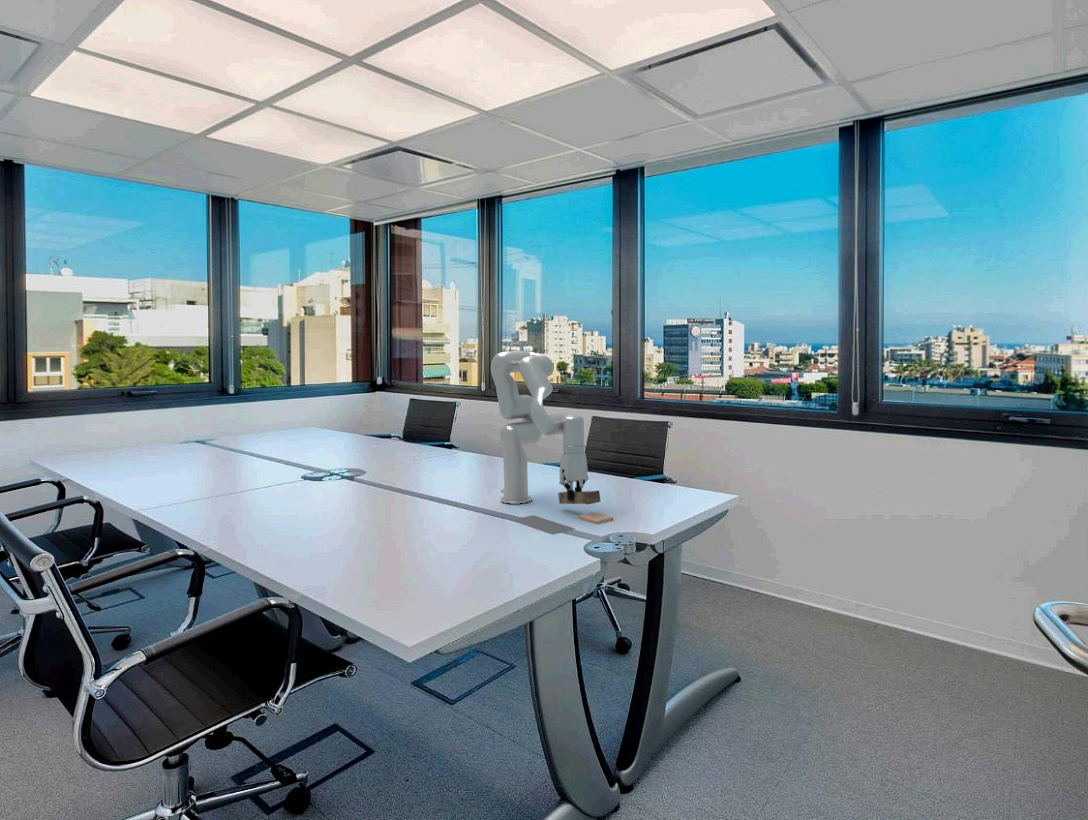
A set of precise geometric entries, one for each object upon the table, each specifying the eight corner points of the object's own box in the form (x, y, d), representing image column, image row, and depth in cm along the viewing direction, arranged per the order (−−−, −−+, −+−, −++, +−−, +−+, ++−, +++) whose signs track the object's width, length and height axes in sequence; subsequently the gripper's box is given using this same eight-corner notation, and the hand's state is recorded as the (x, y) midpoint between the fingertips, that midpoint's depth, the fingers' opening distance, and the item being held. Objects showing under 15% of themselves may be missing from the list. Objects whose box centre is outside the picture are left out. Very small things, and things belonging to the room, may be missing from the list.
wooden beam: (556, 504, 241) (555, 493, 242) (568, 501, 245) (567, 491, 245) (587, 504, 227) (586, 493, 227) (600, 501, 231) (599, 490, 231)
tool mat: (510, 521, 230) (510, 519, 230) (533, 516, 236) (533, 515, 236) (552, 536, 211) (552, 534, 211) (576, 530, 217) (576, 528, 217)
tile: (577, 515, 230) (596, 521, 223) (594, 511, 235) (613, 517, 227) (577, 521, 231) (596, 527, 223) (594, 517, 236) (613, 522, 228)
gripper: (584, 446, 244) (584, 494, 245) (549, 451, 234) (550, 501, 235) (597, 448, 238) (598, 497, 239) (562, 453, 228) (563, 505, 230)
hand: (574, 499), depth 237 cm, fingers closed on wooden beam, 3 cm apart
